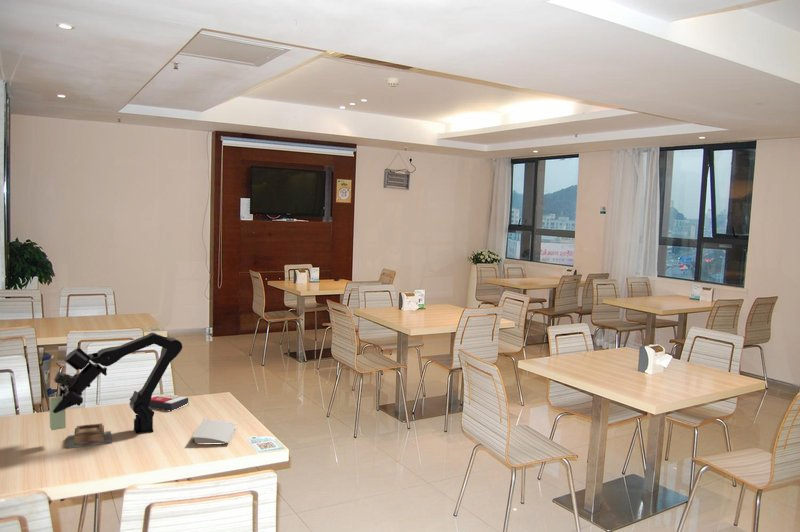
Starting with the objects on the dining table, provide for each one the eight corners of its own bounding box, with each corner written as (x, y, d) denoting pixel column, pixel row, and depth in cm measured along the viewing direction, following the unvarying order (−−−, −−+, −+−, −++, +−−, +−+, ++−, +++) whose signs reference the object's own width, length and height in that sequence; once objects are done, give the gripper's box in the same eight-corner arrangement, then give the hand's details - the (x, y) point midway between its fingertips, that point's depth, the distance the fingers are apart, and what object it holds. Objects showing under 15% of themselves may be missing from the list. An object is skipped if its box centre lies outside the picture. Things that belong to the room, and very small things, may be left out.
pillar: (63, 424, 229) (63, 395, 228) (65, 428, 225) (64, 399, 224) (49, 426, 226) (49, 397, 225) (51, 430, 223) (50, 401, 222)
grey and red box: (163, 392, 284) (188, 396, 278) (163, 401, 284) (188, 405, 278) (145, 398, 274) (170, 402, 268) (145, 408, 274) (171, 412, 268)
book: (186, 448, 229) (186, 438, 229) (199, 427, 252) (200, 418, 251) (227, 448, 231) (228, 438, 230) (237, 427, 253) (237, 418, 253)
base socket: (110, 432, 240) (110, 421, 240) (111, 443, 230) (111, 431, 229) (67, 437, 234) (67, 425, 233) (66, 448, 223) (66, 436, 223)
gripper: (65, 359, 234) (32, 391, 228) (72, 370, 218) (37, 405, 213) (88, 376, 239) (56, 408, 233) (96, 388, 224) (63, 422, 218)
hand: (53, 410), depth 224 cm, fingers closed on pillar, 5 cm apart
